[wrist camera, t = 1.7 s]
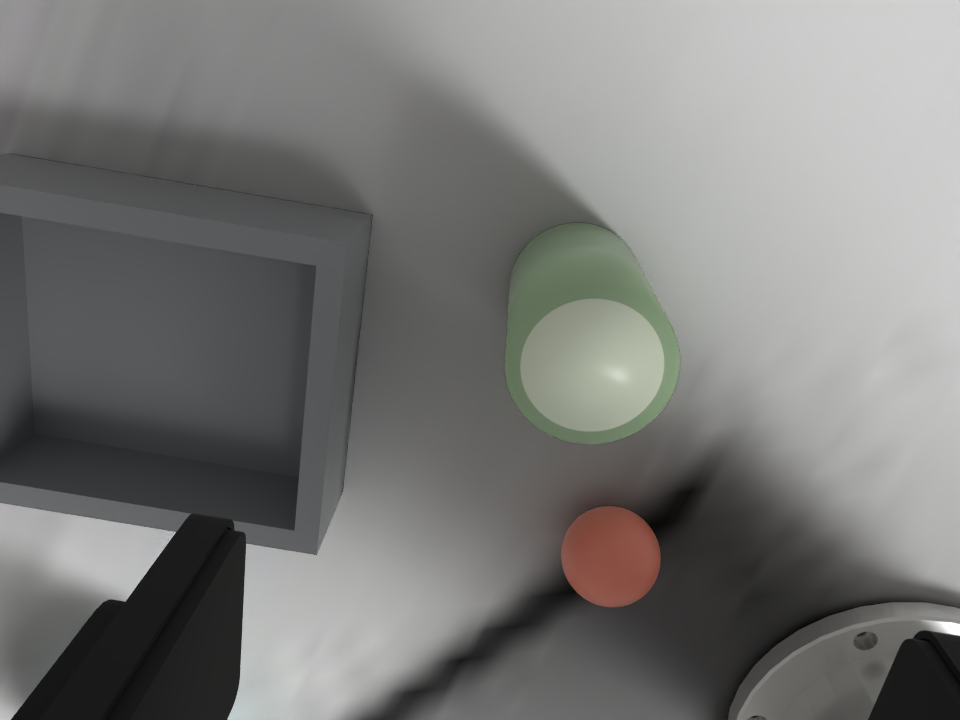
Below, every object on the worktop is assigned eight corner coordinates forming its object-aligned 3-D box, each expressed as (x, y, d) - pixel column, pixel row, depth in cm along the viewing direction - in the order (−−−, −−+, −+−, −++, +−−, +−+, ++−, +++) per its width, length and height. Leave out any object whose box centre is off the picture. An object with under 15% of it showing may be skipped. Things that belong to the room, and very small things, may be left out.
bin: (372, 215, 26) (347, 243, 22) (342, 491, 30) (316, 555, 26) (8, 153, 26) (-79, 171, 22) (26, 439, 30) (-45, 495, 26)
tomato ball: (662, 496, 29) (679, 552, 26) (640, 573, 30) (654, 636, 27) (569, 480, 29) (574, 535, 26) (550, 558, 30) (554, 620, 27)
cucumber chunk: (655, 234, 26) (700, 299, 19) (625, 358, 27) (656, 457, 21) (522, 212, 26) (521, 269, 19) (499, 337, 27) (491, 430, 21)
